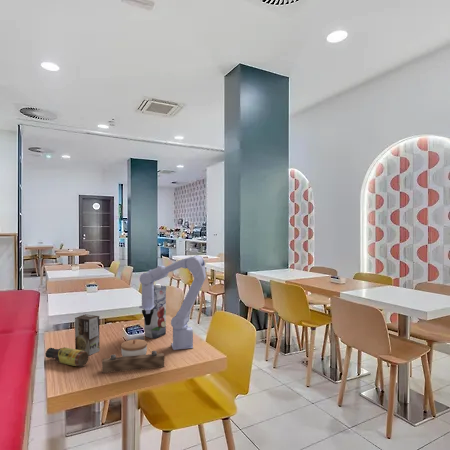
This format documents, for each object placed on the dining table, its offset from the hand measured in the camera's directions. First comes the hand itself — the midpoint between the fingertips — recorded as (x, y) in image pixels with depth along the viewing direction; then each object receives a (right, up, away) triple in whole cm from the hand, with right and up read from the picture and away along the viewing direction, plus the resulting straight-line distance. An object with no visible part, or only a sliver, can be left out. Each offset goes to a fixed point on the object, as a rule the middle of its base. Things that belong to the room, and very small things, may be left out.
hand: (147, 324), depth 163 cm
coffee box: (-26, -10, -9) cm, 29 cm away
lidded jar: (-1, -10, -21) cm, 23 cm away
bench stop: (+1, -10, -27) cm, 29 cm away
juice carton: (+1, -10, +13) cm, 16 cm away
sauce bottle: (-20, -6, -26) cm, 33 cm away
